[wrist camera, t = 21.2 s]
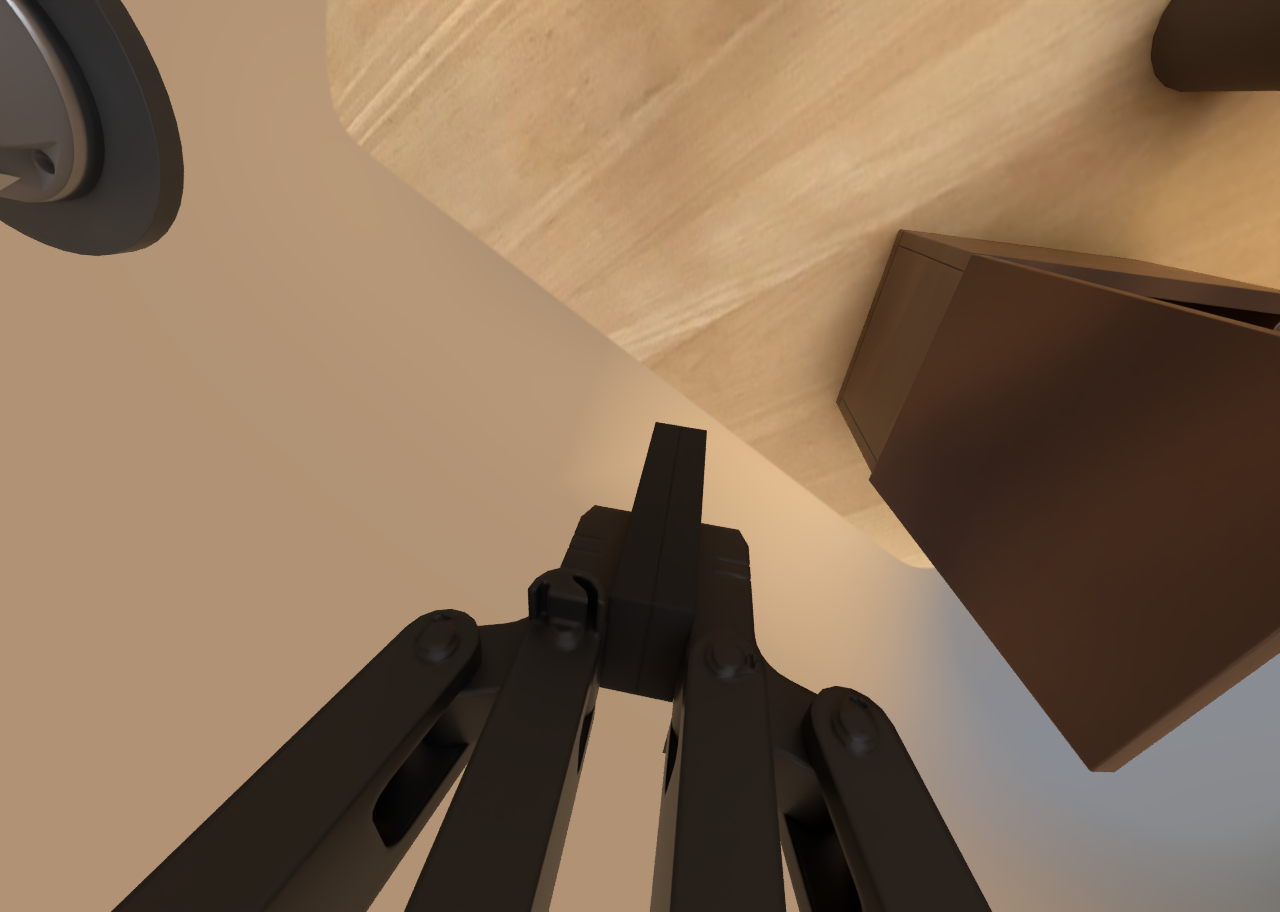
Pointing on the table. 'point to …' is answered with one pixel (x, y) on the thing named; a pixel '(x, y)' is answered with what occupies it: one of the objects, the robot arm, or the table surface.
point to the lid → (1098, 495)
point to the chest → (927, 284)
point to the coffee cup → (1218, 45)
